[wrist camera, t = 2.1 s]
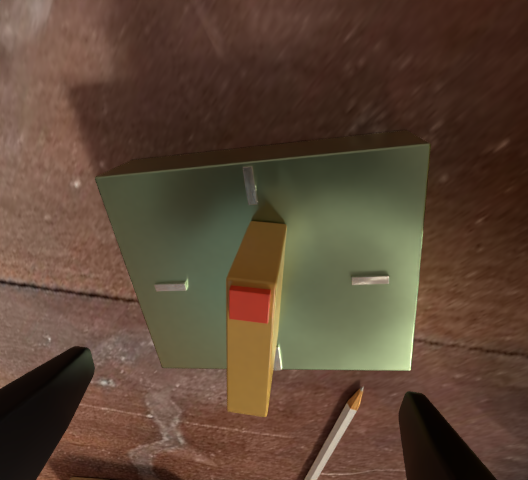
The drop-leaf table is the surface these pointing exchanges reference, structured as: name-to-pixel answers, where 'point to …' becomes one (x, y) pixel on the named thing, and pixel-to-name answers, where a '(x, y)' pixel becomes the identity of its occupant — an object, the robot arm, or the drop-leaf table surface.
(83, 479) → the button block
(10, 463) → the robot arm
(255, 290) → the tap handle
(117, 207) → the valve panel
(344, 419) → the pencil
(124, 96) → the drop-leaf table surface
